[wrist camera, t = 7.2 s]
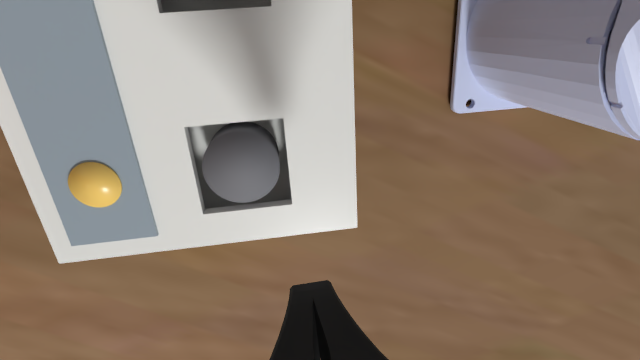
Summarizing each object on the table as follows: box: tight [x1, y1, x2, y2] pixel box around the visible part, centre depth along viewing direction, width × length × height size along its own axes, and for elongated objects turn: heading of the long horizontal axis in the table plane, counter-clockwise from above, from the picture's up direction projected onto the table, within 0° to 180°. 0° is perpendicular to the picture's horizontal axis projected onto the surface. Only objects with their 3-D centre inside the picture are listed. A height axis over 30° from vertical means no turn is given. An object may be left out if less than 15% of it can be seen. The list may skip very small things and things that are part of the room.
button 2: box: [202, 121, 280, 203], centre depth 18 cm, size 4×4×2 cm
